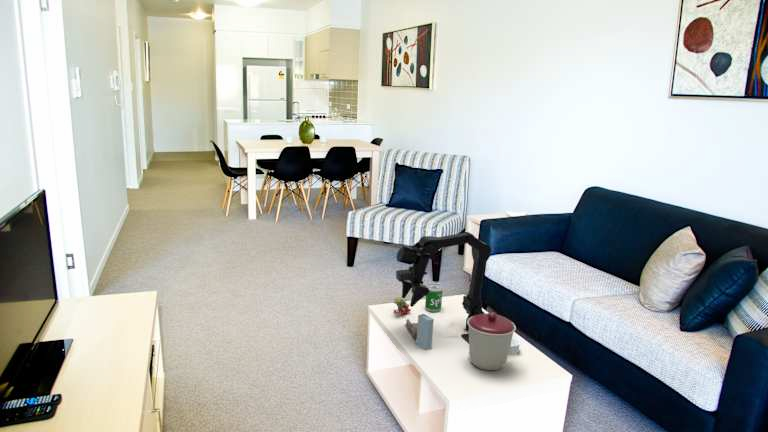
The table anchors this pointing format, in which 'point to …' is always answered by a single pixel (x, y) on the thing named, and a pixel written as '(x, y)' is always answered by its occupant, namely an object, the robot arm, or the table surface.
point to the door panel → (424, 331)
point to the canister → (489, 340)
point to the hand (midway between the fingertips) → (407, 302)
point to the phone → (465, 337)
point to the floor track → (412, 329)
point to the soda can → (434, 298)
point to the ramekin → (514, 347)
